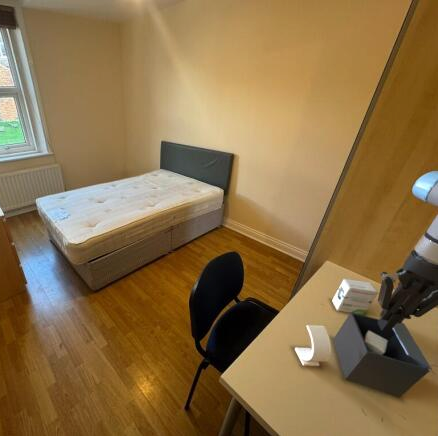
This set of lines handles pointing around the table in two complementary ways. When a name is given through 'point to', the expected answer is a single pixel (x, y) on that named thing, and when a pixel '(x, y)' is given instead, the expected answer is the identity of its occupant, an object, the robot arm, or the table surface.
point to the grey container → (375, 358)
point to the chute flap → (409, 344)
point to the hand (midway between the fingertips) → (383, 327)
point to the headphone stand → (315, 347)
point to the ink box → (354, 296)
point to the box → (375, 343)
